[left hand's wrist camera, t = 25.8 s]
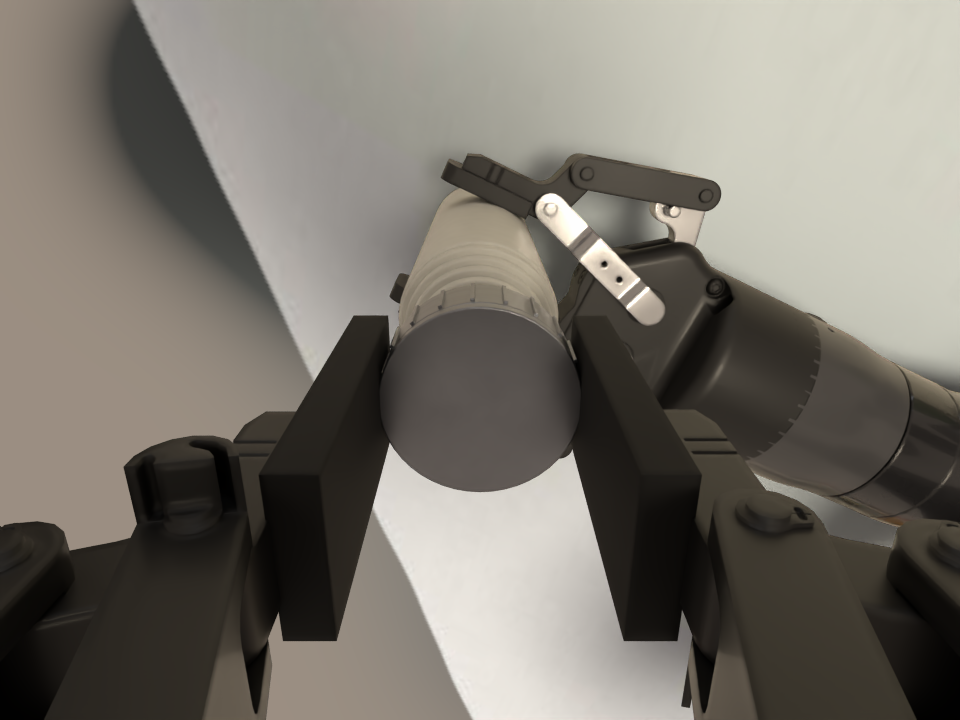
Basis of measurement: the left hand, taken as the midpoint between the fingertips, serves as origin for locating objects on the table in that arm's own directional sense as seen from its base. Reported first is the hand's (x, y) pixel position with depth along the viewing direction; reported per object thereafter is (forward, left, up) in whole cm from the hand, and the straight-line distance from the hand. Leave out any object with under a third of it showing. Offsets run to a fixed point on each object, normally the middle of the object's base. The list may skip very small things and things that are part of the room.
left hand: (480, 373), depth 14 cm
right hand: (-2, -2, -13) cm, 14 cm away
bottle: (0, 0, -20) cm, 20 cm away
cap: (0, 0, +1) cm, 1 cm away
